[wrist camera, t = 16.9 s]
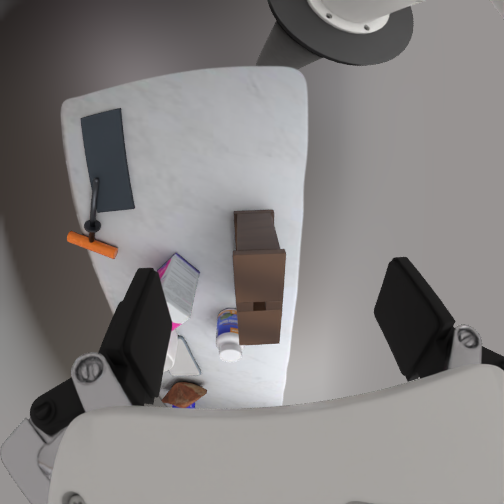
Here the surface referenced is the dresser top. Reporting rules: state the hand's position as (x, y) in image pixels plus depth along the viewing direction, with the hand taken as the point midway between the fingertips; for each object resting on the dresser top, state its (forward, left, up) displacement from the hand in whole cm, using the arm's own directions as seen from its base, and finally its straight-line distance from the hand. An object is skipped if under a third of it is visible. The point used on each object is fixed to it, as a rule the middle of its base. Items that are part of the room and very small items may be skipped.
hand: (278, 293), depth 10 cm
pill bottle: (+28, +16, -31) cm, 44 cm away
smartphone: (+47, +13, -30) cm, 57 cm away
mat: (+13, -17, -30) cm, 37 cm away
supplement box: (+24, +2, -31) cm, 39 cm away
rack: (+14, +11, -30) cm, 35 cm away
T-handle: (+15, -17, -28) cm, 36 cm away
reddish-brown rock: (+59, +21, -31) cm, 70 cm away
